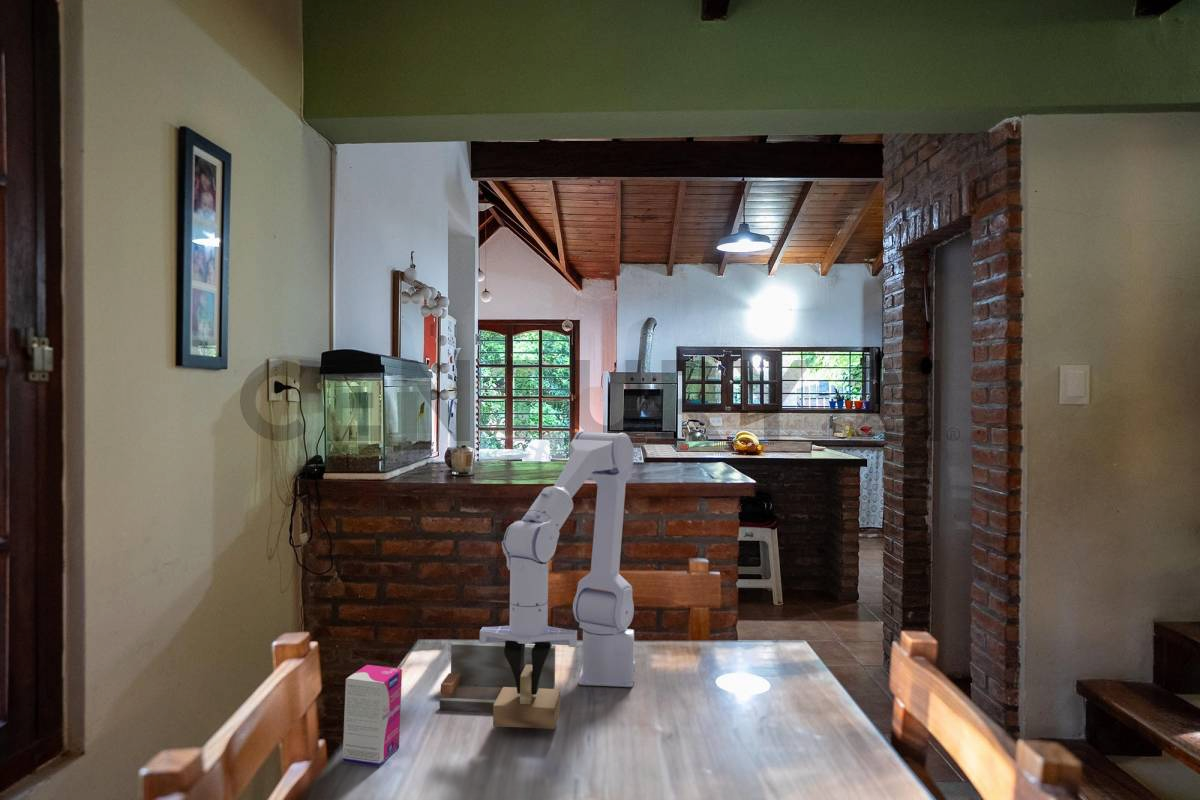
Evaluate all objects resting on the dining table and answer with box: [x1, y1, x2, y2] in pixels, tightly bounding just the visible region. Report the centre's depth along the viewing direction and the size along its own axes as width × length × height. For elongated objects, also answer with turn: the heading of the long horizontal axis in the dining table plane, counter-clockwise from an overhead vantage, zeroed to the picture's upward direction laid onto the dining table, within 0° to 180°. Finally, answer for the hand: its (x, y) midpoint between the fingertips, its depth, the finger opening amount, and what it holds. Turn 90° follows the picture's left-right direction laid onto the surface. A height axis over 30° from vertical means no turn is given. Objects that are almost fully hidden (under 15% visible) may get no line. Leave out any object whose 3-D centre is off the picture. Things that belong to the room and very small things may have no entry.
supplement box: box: [341, 664, 403, 768], centre depth 100 cm, size 6×6×12 cm
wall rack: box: [439, 641, 556, 713], centre depth 120 cm, size 18×12×7 cm, turn 86°
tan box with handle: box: [492, 664, 561, 730], centre depth 109 cm, size 9×7×7 cm
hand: (527, 691), depth 109 cm, fingers closed on tan box with handle
